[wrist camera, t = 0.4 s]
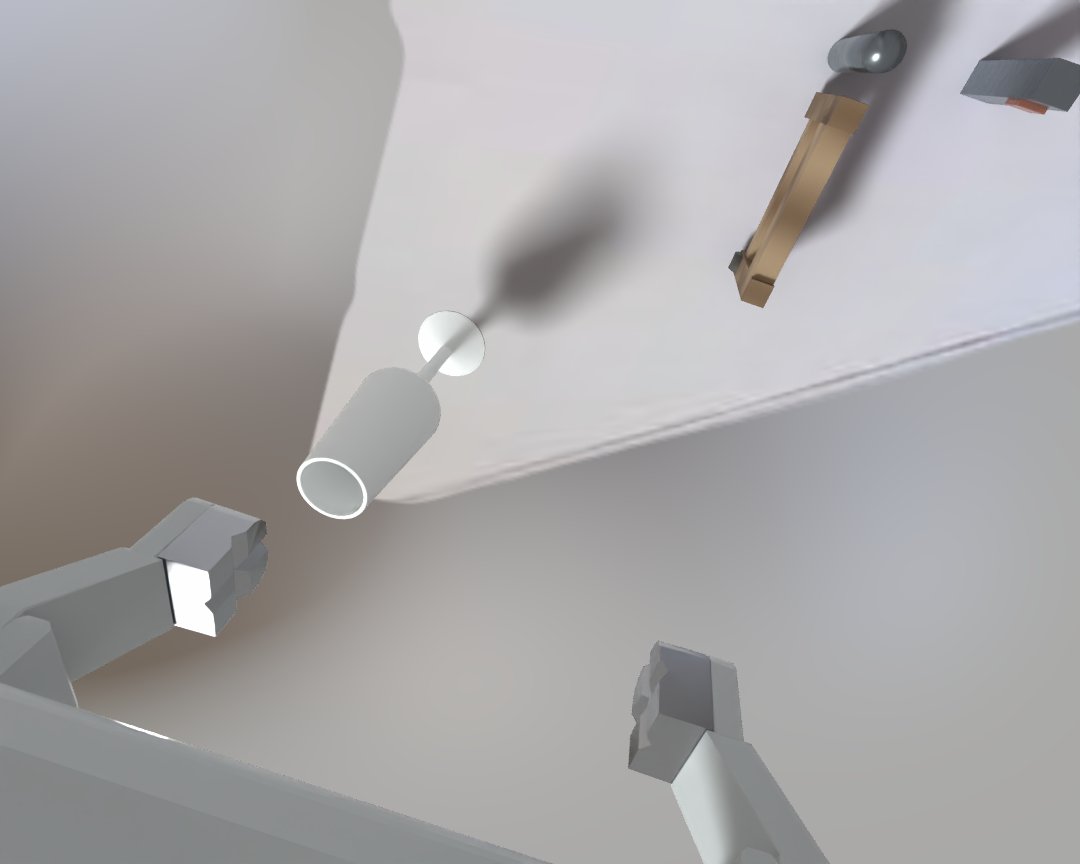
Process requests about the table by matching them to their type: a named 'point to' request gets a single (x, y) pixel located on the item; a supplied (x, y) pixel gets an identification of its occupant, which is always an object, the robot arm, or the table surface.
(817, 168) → the gate
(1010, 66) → the posts
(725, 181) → the table surface
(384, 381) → the champagne flute
